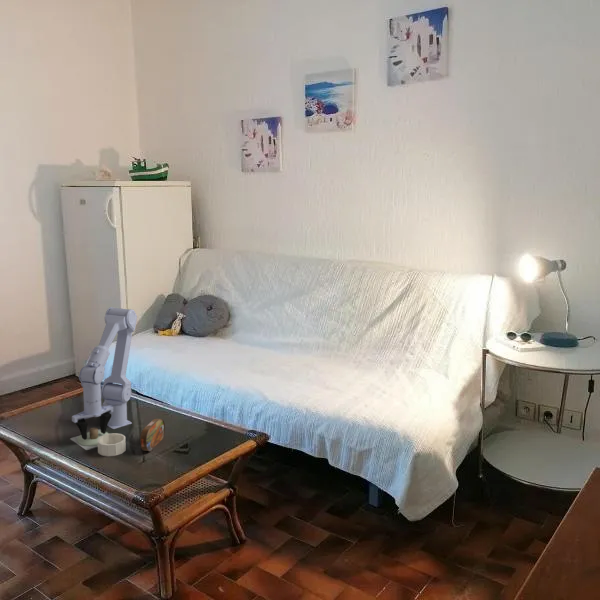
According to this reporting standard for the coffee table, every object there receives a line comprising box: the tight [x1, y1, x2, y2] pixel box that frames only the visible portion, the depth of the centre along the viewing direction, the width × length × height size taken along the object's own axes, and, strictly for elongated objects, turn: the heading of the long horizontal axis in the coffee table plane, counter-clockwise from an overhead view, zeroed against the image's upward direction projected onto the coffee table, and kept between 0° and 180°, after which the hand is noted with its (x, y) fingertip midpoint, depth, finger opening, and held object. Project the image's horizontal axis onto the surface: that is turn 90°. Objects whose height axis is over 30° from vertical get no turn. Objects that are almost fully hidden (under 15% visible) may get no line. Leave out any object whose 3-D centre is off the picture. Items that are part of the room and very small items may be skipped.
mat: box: [69, 429, 101, 451], centre depth 209 cm, size 12×12×1 cm
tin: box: [139, 418, 166, 452], centre depth 206 cm, size 15×3×8 cm, turn 168°
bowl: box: [97, 432, 127, 457], centre depth 201 cm, size 9×9×4 cm
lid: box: [77, 427, 110, 446], centre depth 209 cm, size 11×11×4 cm
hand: (93, 435), depth 209 cm, fingers open, 6 cm apart
